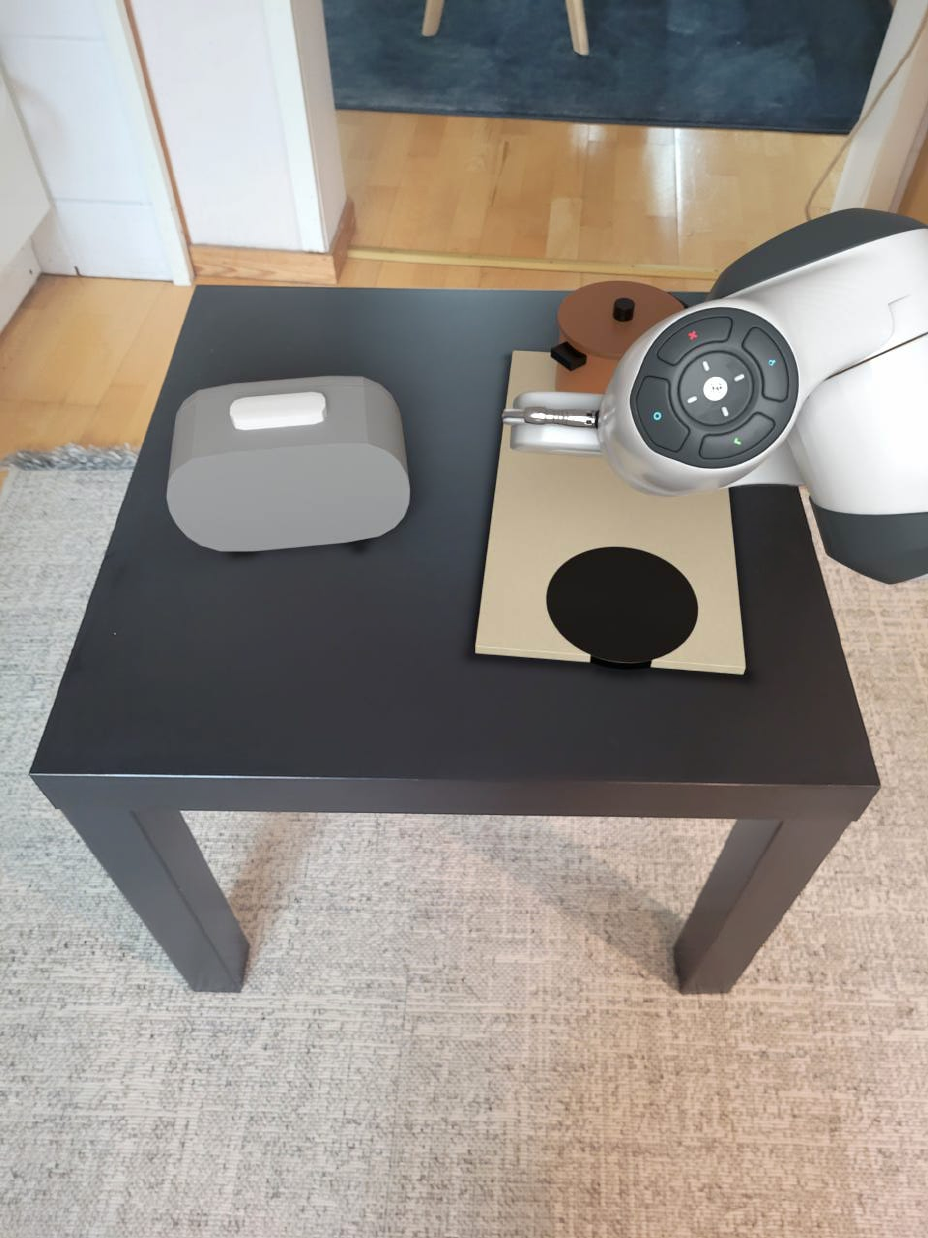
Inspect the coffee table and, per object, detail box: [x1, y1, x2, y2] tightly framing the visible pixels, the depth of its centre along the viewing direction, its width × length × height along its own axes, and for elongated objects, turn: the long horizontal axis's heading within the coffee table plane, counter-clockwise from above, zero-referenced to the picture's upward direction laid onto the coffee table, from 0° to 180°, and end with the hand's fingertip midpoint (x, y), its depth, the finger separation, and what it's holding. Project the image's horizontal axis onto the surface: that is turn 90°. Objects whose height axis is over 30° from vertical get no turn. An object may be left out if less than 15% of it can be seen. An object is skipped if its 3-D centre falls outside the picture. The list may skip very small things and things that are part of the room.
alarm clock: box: [166, 375, 411, 552], centre depth 83 cm, size 21×10×13 cm, turn 97°
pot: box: [550, 280, 690, 394], centre depth 94 cm, size 16×13×11 cm
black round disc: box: [546, 546, 698, 671], centre depth 80 cm, size 13×13×1 cm
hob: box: [474, 349, 747, 675], centre depth 90 cm, size 22×41×1 cm, turn 174°
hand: (648, 440), depth 70 cm, fingers closed
